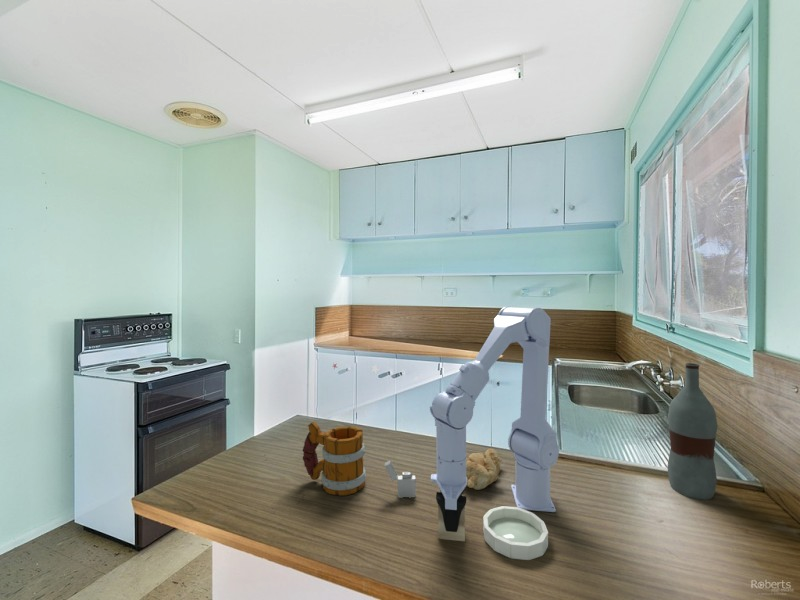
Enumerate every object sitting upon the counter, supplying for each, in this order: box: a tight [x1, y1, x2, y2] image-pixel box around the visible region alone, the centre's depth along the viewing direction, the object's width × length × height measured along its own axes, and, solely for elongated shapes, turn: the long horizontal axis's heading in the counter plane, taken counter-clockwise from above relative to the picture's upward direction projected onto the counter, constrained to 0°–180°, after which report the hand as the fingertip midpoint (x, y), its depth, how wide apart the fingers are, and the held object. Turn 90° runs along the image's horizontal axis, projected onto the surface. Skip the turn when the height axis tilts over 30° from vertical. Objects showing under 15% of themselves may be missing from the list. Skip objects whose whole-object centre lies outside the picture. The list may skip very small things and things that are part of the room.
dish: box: [482, 505, 549, 561], centre depth 69 cm, size 12×12×2 cm
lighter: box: [384, 460, 417, 499], centre depth 84 cm, size 7×2×8 cm, turn 91°
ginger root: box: [466, 447, 503, 491], centre depth 91 cm, size 16×16×8 cm
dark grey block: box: [437, 504, 466, 542], centre depth 70 cm, size 3×5×7 cm, turn 81°
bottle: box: [667, 362, 718, 500], centre depth 85 cm, size 9×9×30 cm
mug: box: [302, 421, 367, 497], centre depth 89 cm, size 11×16×15 cm, turn 78°
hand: (451, 524), depth 70 cm, fingers closed on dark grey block, 3 cm apart
